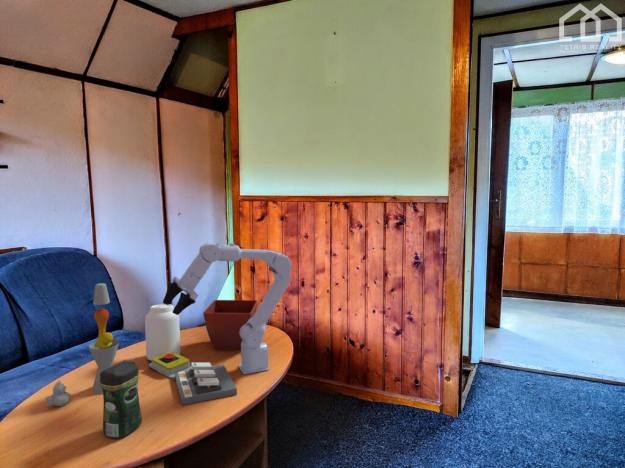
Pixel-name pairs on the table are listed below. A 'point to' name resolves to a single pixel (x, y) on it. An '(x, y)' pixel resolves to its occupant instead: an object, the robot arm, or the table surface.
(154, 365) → the emergency button
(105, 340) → the lava lamp
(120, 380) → the coffee jar
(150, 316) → the white jar
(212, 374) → the rocker
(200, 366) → the rocker
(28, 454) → the table surface
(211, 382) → the rocker
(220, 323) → the plant pot
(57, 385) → the rubber duck
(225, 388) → the panel
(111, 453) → the table surface
